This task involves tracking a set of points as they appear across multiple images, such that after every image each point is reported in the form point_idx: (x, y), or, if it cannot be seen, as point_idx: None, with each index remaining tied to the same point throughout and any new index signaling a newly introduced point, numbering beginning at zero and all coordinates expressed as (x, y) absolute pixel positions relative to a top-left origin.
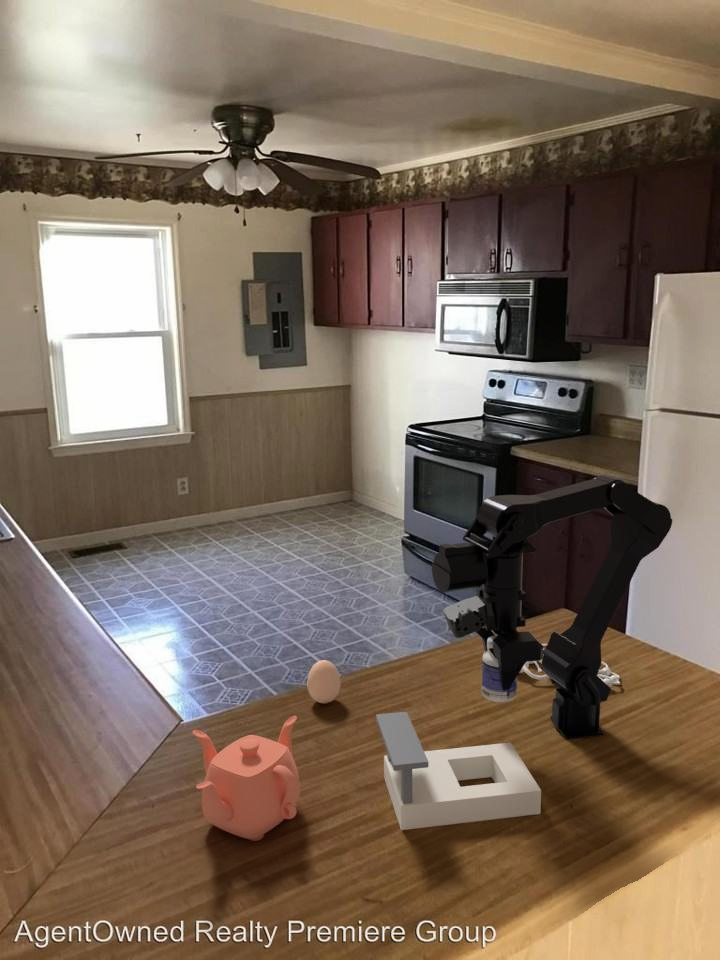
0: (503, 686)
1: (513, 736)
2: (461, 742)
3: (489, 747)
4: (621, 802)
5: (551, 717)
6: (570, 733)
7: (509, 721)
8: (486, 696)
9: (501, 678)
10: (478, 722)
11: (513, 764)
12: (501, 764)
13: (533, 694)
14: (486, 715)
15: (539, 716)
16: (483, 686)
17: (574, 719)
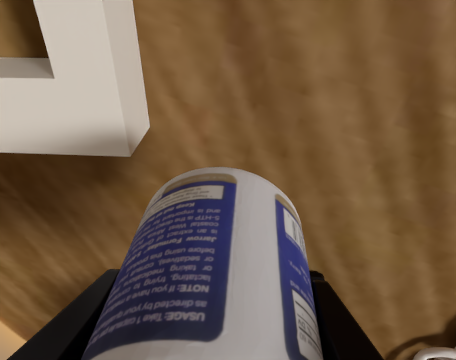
0: (96, 284)
1: (275, 178)
2: (284, 24)
3: (101, 85)
4: (22, 263)
5: (316, 277)
6: None
7: (349, 194)
8: (179, 178)
9: (61, 320)
10: (379, 115)
11: (8, 124)
12: (3, 89)
13: (447, 282)
14: (407, 150)
15: (344, 258)
16: (200, 197)
17: None
